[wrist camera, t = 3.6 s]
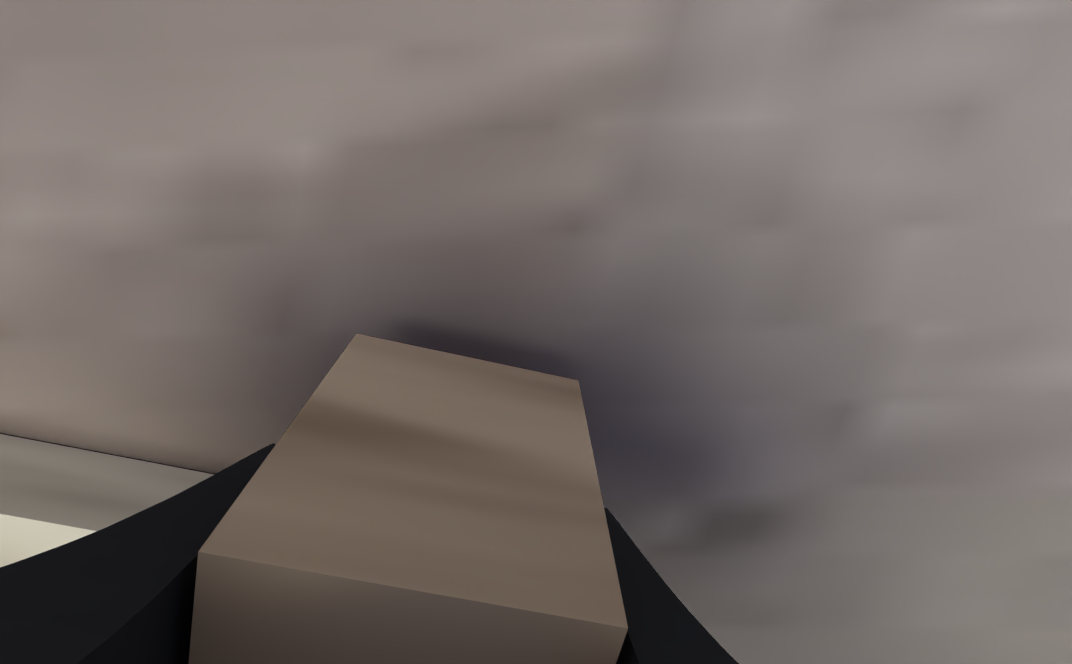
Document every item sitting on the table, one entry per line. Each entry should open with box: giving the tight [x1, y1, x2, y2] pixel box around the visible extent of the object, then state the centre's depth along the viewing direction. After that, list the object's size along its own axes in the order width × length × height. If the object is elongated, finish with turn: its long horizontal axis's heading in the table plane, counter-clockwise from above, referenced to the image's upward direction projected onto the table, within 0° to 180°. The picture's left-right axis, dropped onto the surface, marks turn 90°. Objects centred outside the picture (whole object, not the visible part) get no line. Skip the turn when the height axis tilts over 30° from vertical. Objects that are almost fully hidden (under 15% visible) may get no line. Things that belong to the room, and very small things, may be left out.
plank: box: [0, 434, 214, 567], centre depth 15 cm, size 7×14×2 cm, turn 77°
